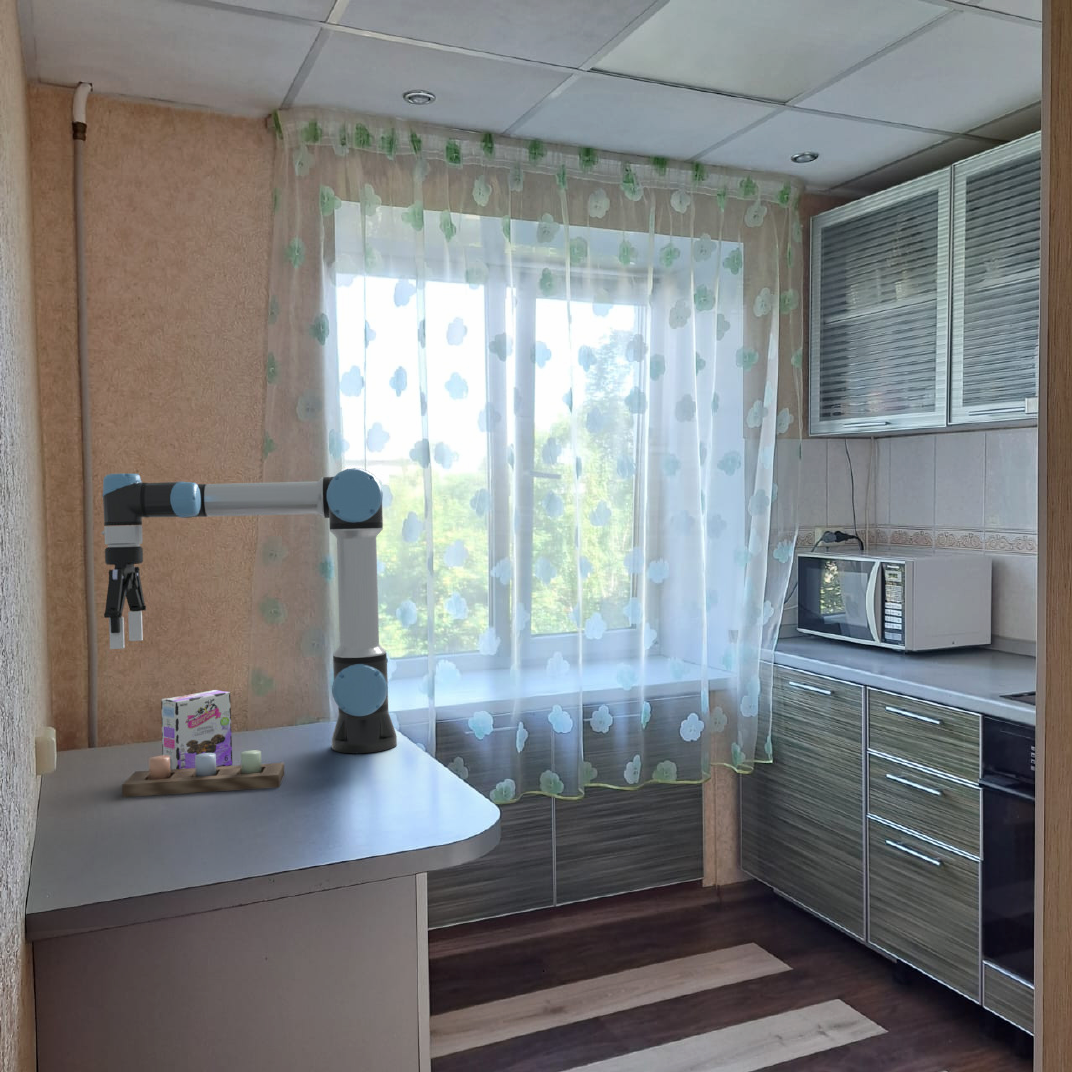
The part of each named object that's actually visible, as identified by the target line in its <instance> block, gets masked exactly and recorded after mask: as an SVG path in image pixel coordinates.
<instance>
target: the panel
mask: <svg viewBox="0 0 1072 1072" xmlns="http://www.w3.org/2000/svg"><path fill="white" fill-rule="evenodd" d="M261 767H262V771H261V772H260V773H251V774H242V773H241V764H240V765H228V766H221V767H216V775H214V776H201V777H196V768H187V769H170V774H171V777H169V778H167V779H152V780H150V779H149V770H141V771H140V770H139V771H134V772H133V773H132V774H131V775H130V776H129V777H128V778H127V779H126V780H125V781H124V782H123V783H122V785H121V787H122V789H121V790H122V794H121V795H122V798H130V797H144V796H145V797H146V796H161V795H176V794H177V795H178V794H191V793H192V794H193V793H194V794H195V793H207V792H210V793H211V792H222V791H223V792H225V791H241V790H243V791H244V790H258V789H271V788H272V789H273V788H280V786H281V784H282V782H283V779H284V777H285V775H286V773H285V762H274V763H272V762H271V763H261Z"/></svg>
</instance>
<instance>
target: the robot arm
mask: <svg viewBox="0 0 1072 1072" xmlns="http://www.w3.org/2000/svg"><path fill="white" fill-rule="evenodd" d="M102 484H103V485H102V501H103V502H102V503H103V505H102V506H103V507H102V508H103V525H104V528H103V529H104V530H102V531H101V534H102V535H103V536H104V545H106V546H107V547H105V548H104V563H105V564H106V565H109V566H111V565H113V566H114V569H109V570H108V583H107V584H108V586H107V591H106V592H107V594H106V602H105V610H104V613H103V618H105V619H108V626H109V627H108V628H109V629H108V633H109V650H120V649H122V650H123V649H125V647H126V646H125V623H124V622H125V618H124V616H123V610H124V606H125V601H126V600H127V601H126V602H127V604H128V605H127V606H128V607H129V611H128V612H127V613H128V615H127V617H128V641H129V642H138V641H139V642H141V641H143V640H144V639H143V638H144V635H143V634H144V633H143V632H144V631H143V630H144V629H143V611H146V610H147V605H146V603H145V599H144V598H145V597H144V593H143V588H142V587H143V586H142V582H141V576H140V574H141V573H140V571H141V570H140V567H139V566H135V565H139V564H142V563H143V562H144V547H142V546H141V544H143V543H144V542H143V541H144V539H143V521H142V520H143V518H184V519H186V518H187V519H190V518H205V517H238V516H239V517H241V516H242V517H244V516H245V517H246V516H280V515H281V516H282V515H284V516H285V515H286V516H287V515H320V517H322V518H323V519H329V520H328V521H329V532H331V533H332V535H334V537H335V539H336V550H337V551H336V555H337V558H336V559H337V586H338V588H337V591H338V592H337V593H338V594H337V596H338V597H337V598H338V624H339V625H338V628H339V629H338V630H339V646H338V648H337V649H336V650H335V651H334V652H333V654H332V657H333V658H332V662H333V663H332V665H333V669H332V670H333V683H332V686H331V694H332V698H333V700H334V702H335V704H336V705H337V707H338V710H337V711H338V716H337V720H336V723H335V726H334V730H333V733H332V737H331V749H332V750H333V751H334V752H339V753H343V754H370V753H378V752H382V751H386V750H390V749H392V748H394V747H396V746H397V744H398V739H397V736H398V735H397V732H396V730H395V727H394V725H393V724H394V723H393V721H392V719H391V716H390V713H389V687H388V683H389V682H388V663H389V661H388V655H387V650H385V649H384V648H383V647H382V646H381V645H380V636H379V635H380V633H379V632H380V631H379V630H380V629H379V599H378V598H379V597H378V596H379V595H378V594H379V593H378V592H379V590H378V563H377V562H378V559H377V555H378V554H377V537H378V535H379V534H380V533H381V532H382V531H383V529H384V523H383V522H384V519H383V496H384V495H383V494H384V493H383V487H382V485H381V483H380V481H379V479H378V478H377V477H376V475H375V474H373V473H372V472H370V471H368V470H366V469H363V468H358V467H354V468H347V469H343V470H342V471H339V472H338V473H337V474H336V475H334V476H322V477H321V478H320V479H319V480H318V481H286V482H285V481H284V482H280V481H279V482H278V481H277V482H241V483H239V482H237V483H207V484H205V483H196V482H193V481H192V482H191V481H189V482H187V481H182V480H181V481H173V482H172V481H169V482H168V481H167V482H142V480H141V476H140V474H138V473H109V474H108V473H107V474H106V475H105V476H104V477H103V483H102Z"/></svg>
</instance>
